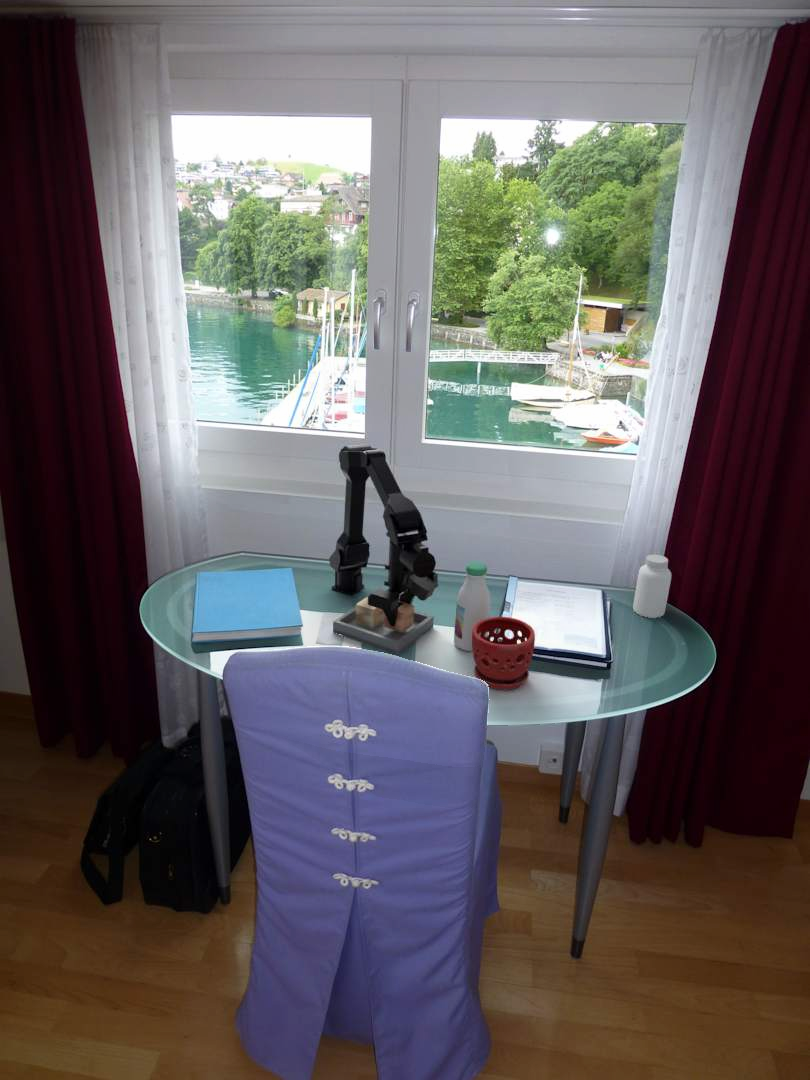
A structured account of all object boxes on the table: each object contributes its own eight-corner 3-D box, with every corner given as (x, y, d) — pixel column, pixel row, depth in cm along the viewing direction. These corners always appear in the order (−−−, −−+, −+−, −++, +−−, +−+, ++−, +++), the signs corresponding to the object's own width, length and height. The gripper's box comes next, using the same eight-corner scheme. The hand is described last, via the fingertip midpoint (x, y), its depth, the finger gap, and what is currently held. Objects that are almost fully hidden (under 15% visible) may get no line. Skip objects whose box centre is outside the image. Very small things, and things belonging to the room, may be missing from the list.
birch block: (355, 622, 194) (355, 604, 192) (367, 615, 198) (367, 596, 196) (372, 628, 192) (373, 609, 190) (384, 620, 196) (385, 602, 194)
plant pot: (491, 656, 184) (495, 609, 179) (541, 678, 176) (547, 629, 172) (456, 679, 174) (460, 629, 170) (507, 703, 167) (513, 651, 162)
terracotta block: (383, 626, 190) (384, 607, 188) (395, 618, 194) (396, 599, 192) (402, 632, 187) (403, 613, 186) (413, 624, 191) (414, 605, 190)
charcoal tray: (332, 632, 191) (333, 621, 190) (370, 607, 204) (370, 597, 203) (398, 655, 183) (398, 643, 182) (433, 627, 196) (433, 616, 194)
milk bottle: (490, 640, 191) (497, 562, 184) (482, 655, 184) (489, 574, 177) (458, 633, 193) (464, 556, 186) (449, 648, 187) (455, 568, 179)
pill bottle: (630, 615, 207) (639, 560, 201) (634, 602, 214) (643, 549, 208) (662, 621, 204) (672, 567, 198) (666, 608, 211) (675, 555, 205)
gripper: (410, 583, 173) (407, 647, 179) (452, 555, 188) (447, 616, 194) (367, 570, 178) (365, 633, 184) (410, 544, 193) (407, 603, 199)
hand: (398, 621), depth 190 cm, fingers closed on terracotta block, 5 cm apart
